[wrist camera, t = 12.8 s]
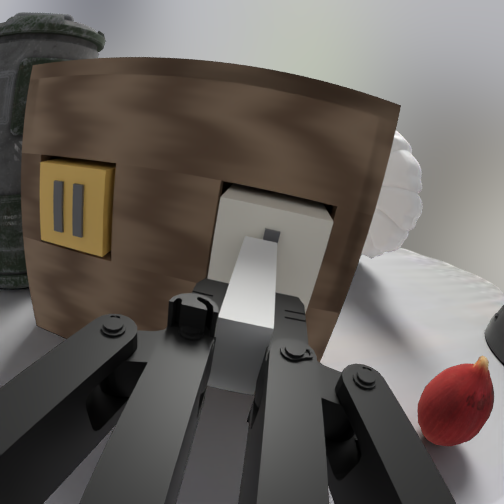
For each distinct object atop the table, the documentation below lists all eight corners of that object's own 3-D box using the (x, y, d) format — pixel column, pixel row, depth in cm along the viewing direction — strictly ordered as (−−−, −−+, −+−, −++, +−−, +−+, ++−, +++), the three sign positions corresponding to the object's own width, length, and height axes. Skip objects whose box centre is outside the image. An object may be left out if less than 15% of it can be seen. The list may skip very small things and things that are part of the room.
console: (298, 337, 28) (362, 113, 20) (301, 401, 21) (400, 105, 13) (82, 283, 28) (94, 75, 21) (36, 325, 21) (32, 65, 13)
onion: (466, 440, 17) (524, 367, 14) (435, 478, 14) (508, 402, 11) (422, 402, 21) (469, 327, 18) (385, 431, 18) (441, 350, 15)
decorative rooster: (258, 226, 56) (287, 88, 47) (336, 238, 59) (368, 113, 50) (295, 304, 34) (355, 69, 24) (405, 309, 37) (465, 123, 28)
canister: (65, 226, 40) (87, 33, 29) (104, 275, 31) (139, 3, 20) (-32, 243, 28) (-19, 30, 18) (-32, 307, 19) (-20, -12, 9)
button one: (299, 275, 20) (320, 198, 18) (304, 319, 16) (334, 223, 14) (222, 258, 21) (236, 180, 19) (204, 297, 16) (219, 197, 14)
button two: (136, 230, 22) (142, 160, 20) (100, 258, 17) (103, 171, 15) (80, 218, 22) (83, 152, 20) (39, 240, 17) (38, 162, 15)
